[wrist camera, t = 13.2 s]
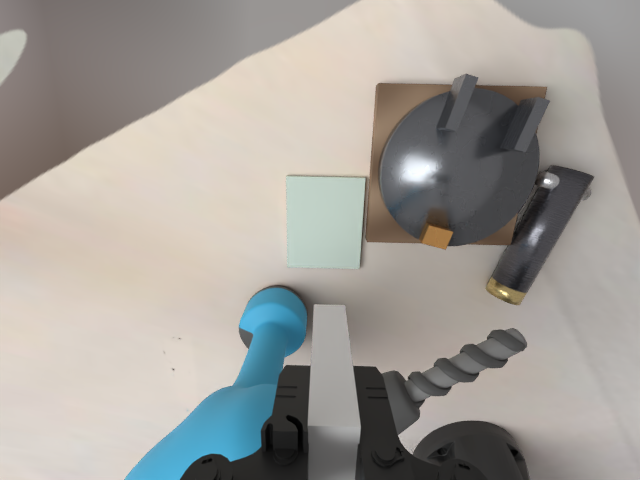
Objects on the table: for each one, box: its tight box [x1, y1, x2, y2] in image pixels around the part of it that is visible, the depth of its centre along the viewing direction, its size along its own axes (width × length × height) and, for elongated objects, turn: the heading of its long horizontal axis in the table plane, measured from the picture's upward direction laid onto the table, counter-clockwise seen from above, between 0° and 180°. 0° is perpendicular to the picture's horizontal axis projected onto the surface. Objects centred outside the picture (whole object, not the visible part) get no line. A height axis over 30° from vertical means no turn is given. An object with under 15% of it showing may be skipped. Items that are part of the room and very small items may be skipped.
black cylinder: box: [486, 166, 594, 305], centre depth 32 cm, size 6×4×14 cm
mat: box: [286, 176, 365, 269], centre depth 33 cm, size 10×8×1 cm
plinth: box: [365, 83, 547, 245], centre depth 31 cm, size 15×15×2 cm
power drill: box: [124, 286, 527, 480], centre depth 25 cm, size 28×9×23 cm, turn 124°
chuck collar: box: [378, 74, 550, 250], centre depth 28 cm, size 14×14×4 cm
